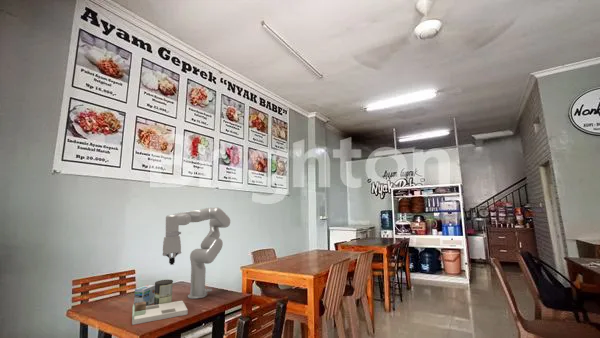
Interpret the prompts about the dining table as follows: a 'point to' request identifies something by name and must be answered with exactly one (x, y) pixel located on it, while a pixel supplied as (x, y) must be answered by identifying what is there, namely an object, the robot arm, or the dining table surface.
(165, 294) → the coffee can
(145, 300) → the light bulb box
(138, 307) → the walnut block
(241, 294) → the dining table surface
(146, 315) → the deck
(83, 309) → the dining table surface
